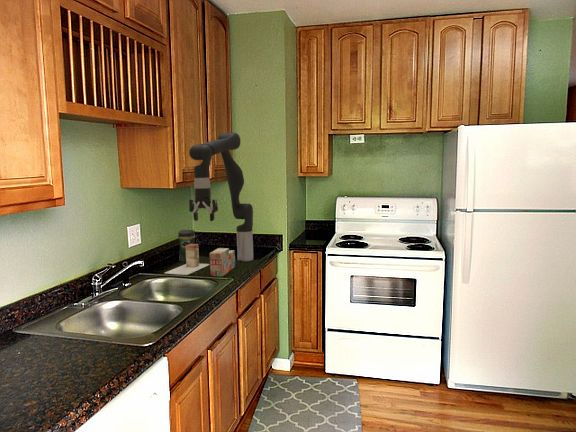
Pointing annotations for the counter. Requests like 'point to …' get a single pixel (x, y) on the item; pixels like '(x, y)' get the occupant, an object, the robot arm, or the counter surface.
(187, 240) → the coffee jar
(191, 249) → the birch block
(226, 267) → the printed cardboard box
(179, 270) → the grey mat
